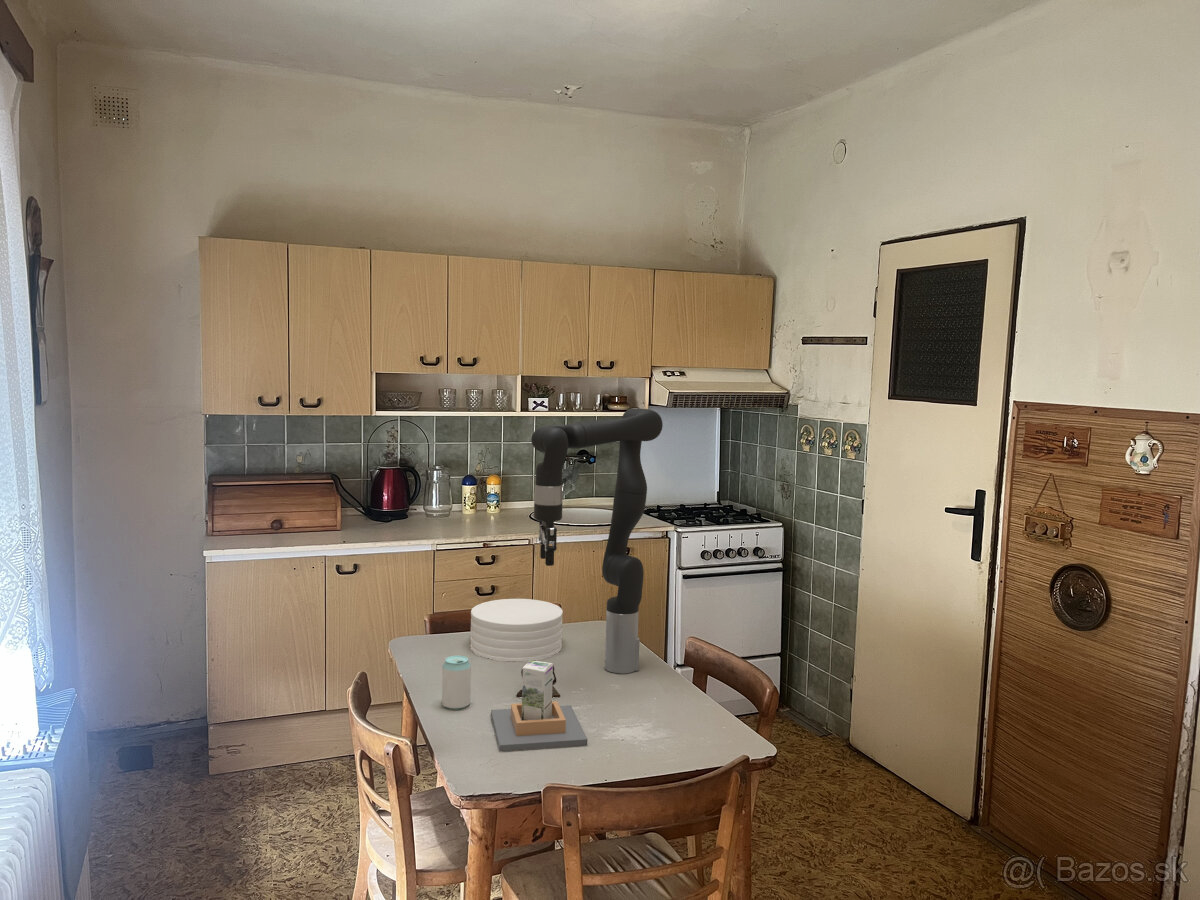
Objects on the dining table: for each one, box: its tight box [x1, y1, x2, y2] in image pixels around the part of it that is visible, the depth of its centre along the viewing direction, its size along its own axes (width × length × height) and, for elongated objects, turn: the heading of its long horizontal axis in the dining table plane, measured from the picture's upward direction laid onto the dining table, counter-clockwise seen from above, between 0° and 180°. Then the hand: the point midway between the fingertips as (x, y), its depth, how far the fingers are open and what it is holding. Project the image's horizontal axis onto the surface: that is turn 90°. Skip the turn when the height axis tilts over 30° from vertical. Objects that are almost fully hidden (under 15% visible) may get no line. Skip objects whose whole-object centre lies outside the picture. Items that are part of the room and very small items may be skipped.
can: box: [441, 655, 472, 710], centre depth 213 cm, size 7×7×12 cm
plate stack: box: [469, 598, 564, 662], centre depth 259 cm, size 28×28×12 cm
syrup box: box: [521, 660, 554, 721], centre depth 199 cm, size 6×6×14 cm
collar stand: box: [490, 700, 588, 752], centre depth 199 cm, size 20×20×4 cm
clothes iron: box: [515, 664, 561, 699], centre depth 221 cm, size 7×11×10 cm, turn 112°
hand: (546, 561), depth 225 cm, fingers open, 8 cm apart
